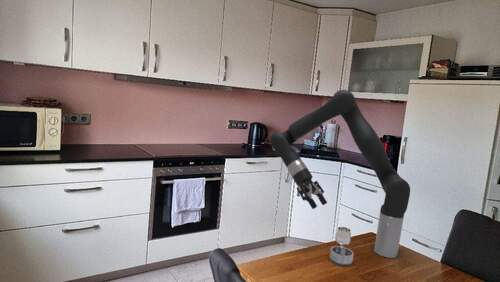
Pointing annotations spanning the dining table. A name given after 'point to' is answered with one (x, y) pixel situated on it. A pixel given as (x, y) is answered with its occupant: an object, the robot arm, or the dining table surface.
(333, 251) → the grey bowl
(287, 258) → the dining table surface
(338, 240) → the wineglass
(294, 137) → the robot arm
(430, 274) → the dining table surface
